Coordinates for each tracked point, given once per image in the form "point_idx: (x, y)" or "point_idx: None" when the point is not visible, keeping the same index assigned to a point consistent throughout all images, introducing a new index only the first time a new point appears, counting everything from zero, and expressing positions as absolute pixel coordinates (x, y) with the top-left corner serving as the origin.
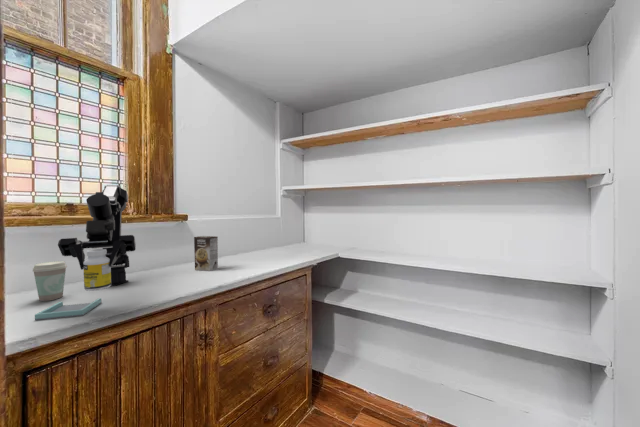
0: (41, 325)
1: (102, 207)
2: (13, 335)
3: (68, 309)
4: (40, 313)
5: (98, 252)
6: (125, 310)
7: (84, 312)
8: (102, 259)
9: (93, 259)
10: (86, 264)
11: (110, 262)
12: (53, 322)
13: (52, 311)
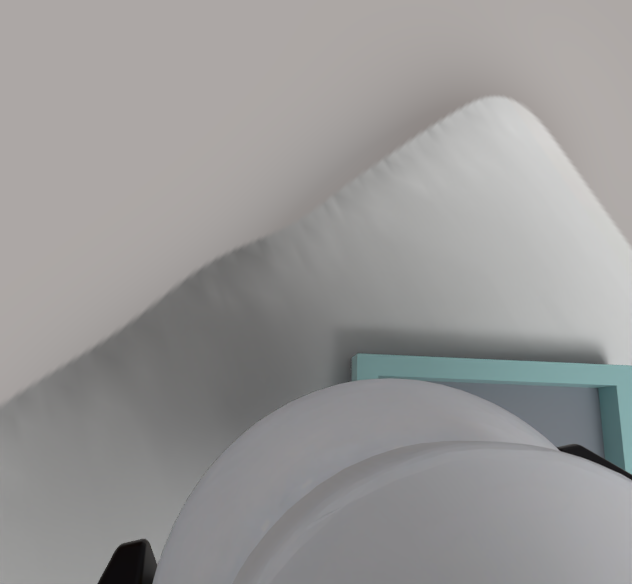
0: (508, 255)
1: None
2: (557, 153)
3: None
4: (613, 380)
5: (342, 481)
6: (85, 366)
7: (353, 379)
8: (242, 485)
9: (415, 440)
10: (494, 404)
11: (121, 579)
12: (469, 284)
13: None
